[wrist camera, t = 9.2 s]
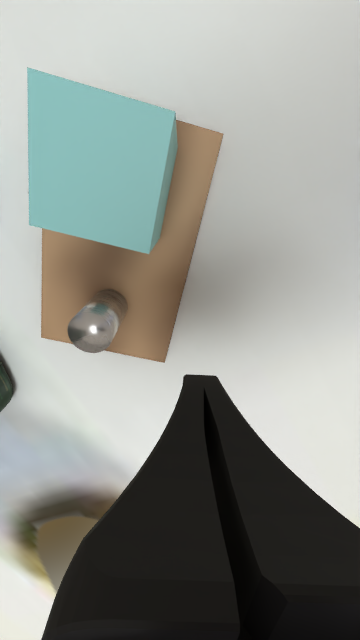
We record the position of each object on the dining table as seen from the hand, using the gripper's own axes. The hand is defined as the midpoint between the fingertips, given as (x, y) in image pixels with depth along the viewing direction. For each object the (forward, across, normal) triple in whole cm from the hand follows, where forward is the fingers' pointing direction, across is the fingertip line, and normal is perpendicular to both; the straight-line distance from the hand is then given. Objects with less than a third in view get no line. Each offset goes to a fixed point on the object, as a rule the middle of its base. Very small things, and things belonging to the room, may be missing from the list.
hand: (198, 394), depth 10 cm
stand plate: (+10, +5, -4) cm, 12 cm away
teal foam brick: (+9, +5, -8) cm, 13 cm away
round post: (+9, +6, 0) cm, 11 cm away
